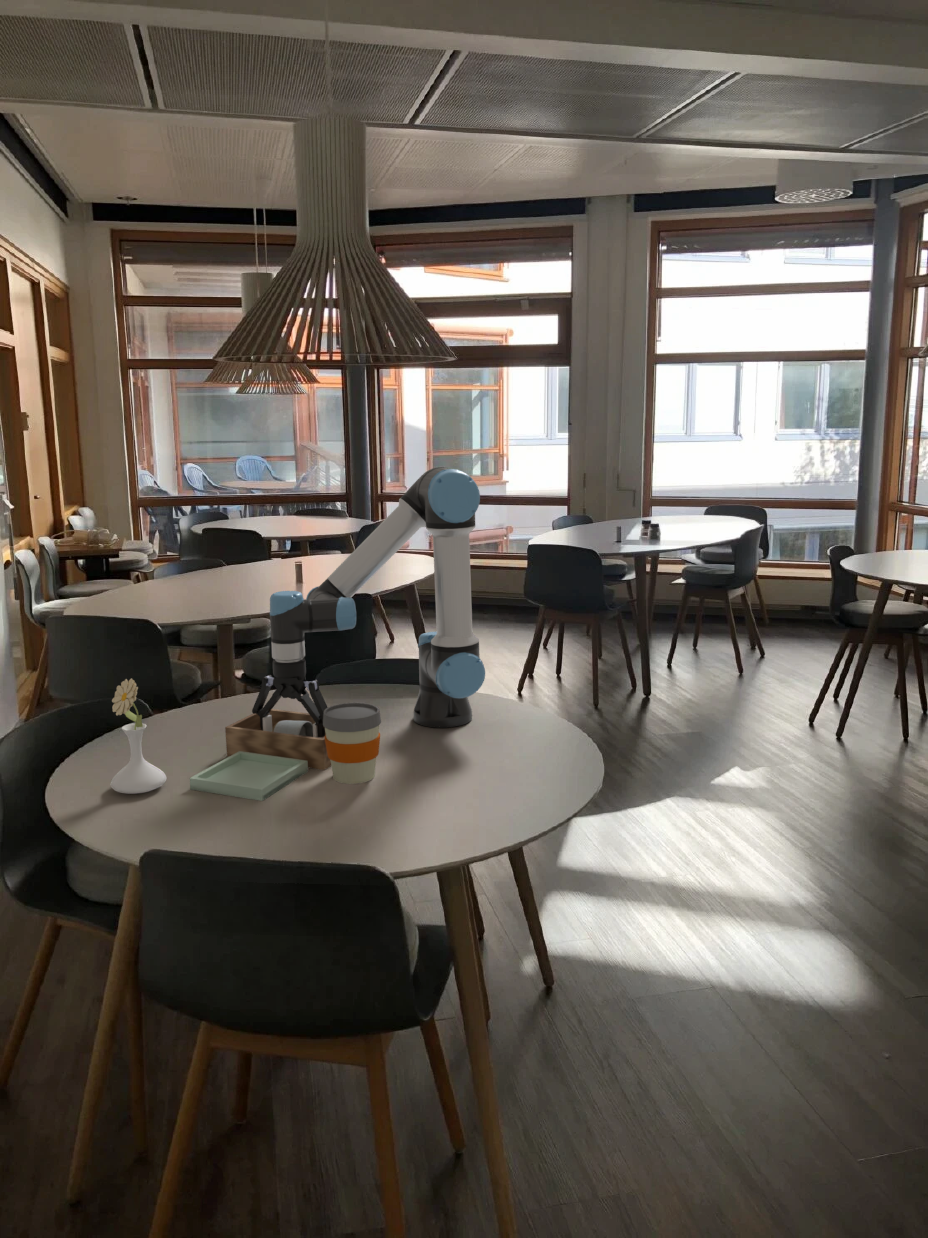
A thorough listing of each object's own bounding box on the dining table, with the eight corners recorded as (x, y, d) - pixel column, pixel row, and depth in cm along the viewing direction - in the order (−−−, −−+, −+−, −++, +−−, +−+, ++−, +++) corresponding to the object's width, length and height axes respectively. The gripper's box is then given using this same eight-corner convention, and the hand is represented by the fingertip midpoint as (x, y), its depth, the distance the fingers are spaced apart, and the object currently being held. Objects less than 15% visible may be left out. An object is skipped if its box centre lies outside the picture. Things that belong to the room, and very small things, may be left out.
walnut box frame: (358, 747, 232) (357, 719, 231) (324, 770, 218) (323, 740, 216) (265, 735, 242) (264, 708, 241) (227, 756, 228) (225, 727, 226)
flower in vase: (109, 783, 212) (98, 671, 206) (163, 775, 216) (155, 665, 211) (113, 805, 200) (102, 687, 195) (171, 796, 204) (162, 680, 199)
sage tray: (308, 771, 217) (307, 760, 217) (262, 801, 201) (261, 789, 200) (240, 761, 224) (239, 751, 223) (190, 789, 208) (189, 778, 207)
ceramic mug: (286, 744, 235) (285, 713, 234) (316, 748, 232) (314, 717, 231) (262, 759, 226) (260, 727, 224) (293, 763, 223) (291, 731, 221)
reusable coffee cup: (358, 762, 223) (356, 698, 220) (394, 776, 214) (392, 710, 211) (313, 776, 214) (310, 711, 211) (349, 791, 205) (346, 723, 202)
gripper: (344, 659, 224) (347, 747, 228) (252, 650, 233) (257, 735, 238) (328, 667, 217) (331, 758, 222) (233, 657, 227) (239, 745, 231)
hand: (293, 746), depth 230 cm, fingers open, 13 cm apart
